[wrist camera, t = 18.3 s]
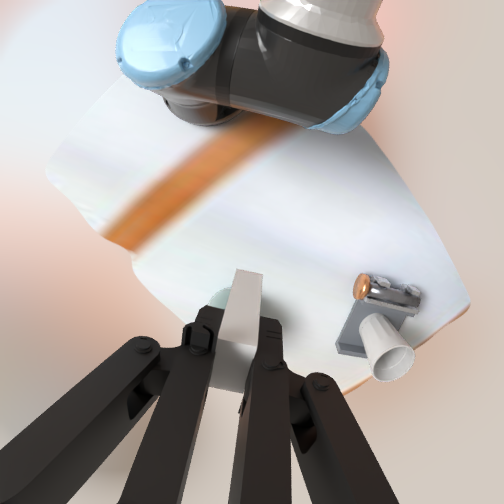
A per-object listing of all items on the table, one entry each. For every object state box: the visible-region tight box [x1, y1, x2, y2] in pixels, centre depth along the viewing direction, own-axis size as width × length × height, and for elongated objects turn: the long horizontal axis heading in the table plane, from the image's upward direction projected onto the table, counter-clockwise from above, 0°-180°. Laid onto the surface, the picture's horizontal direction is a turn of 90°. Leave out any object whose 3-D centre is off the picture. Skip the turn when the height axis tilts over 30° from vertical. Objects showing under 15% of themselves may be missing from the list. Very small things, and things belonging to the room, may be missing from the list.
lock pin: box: [353, 274, 420, 308], centre depth 46 cm, size 13×4×4 cm, turn 75°
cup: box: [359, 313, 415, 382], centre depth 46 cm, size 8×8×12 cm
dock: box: [335, 299, 415, 358], centre depth 51 cm, size 12×12×3 cm
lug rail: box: [364, 275, 421, 314], centre depth 48 cm, size 4×12×4 cm, turn 75°
